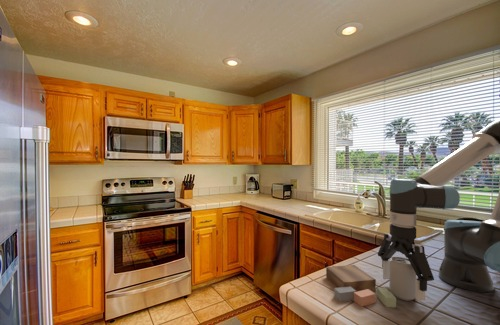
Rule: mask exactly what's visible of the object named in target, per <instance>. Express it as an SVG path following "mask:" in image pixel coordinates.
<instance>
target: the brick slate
mask: <svg viewBox="0 0 500 325" xmlns="http://www.w3.org/2000/svg"><path fill="white" fill-rule="evenodd" d="M333 291H334V292H333V293H334V295H333V296H334V298H335V299H336V300H337V301H338V302H339V303H342V302H347V301H354V292H356V290H354V289H353V288H352V287H351V286H348V287H340V288H337V287H334V290H333Z"/></svg>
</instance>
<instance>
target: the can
mask: <svg viewBox="0 0 500 325" xmlns="http://www.w3.org/2000/svg"><path fill="white" fill-rule="evenodd" d="M416 278H417V275H416V273H415V271H414V269H413V267H412V265H411V263H410V262H409V260H408V258H407V257H402V256H392V257H391V259H390V279H389V291H390V292H391V293H392V294H393V295H394V296H395V297H396V299H400V300H403V301H408V302H409V301H413V300H415V299H416Z"/></svg>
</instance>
